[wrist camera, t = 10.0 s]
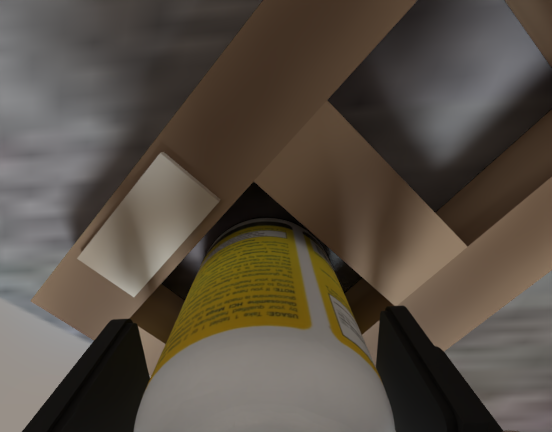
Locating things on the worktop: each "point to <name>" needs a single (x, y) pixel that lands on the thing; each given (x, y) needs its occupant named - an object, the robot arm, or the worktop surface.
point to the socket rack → (313, 188)
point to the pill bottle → (265, 344)
